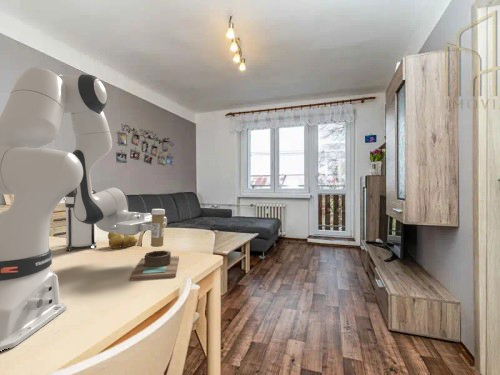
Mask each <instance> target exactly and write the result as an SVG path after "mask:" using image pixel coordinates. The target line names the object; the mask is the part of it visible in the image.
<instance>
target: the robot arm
mask: <svg viewBox="0 0 500 375" xmlns="http://www.w3.org/2000/svg"><path fill="white" fill-rule="evenodd" d="M107 103H108V93H107V89H106V87H105V85H104V83H103V82H102V81H101V79H99V78H98V77H97V76H95V75H91V74H85V73H82V74H59V75H58V74H56V73H55V72H53V71H52V70H50V69H47V68H44V67H39V66H37V67H30V68H27V69H26V70H25V71H23V73H22V74H21V75H20V76H19V78H18V79H17V80H16V82H15V84H14V85H13V87H12V89H11V92H10V93H9V96H8V99H7V101H6V103H5V106H4V108H3V110H2V113H1V115H0V195H4V196H5V195H12V196H13V202H12V204H11V205H10V207H9V208H8V209H6V210H4V211H2V212H0V351H1V350H4V349H7V350H9V349H8V348H10V349H13V348H14V347H16V346H17V345H19V344H20V343H22V342H23V341H24V340H26V339H28V337H29V338H30V336H31V335H33V334H34V333H35V332H37V331H39V329H41V328H42V327H44V326H45V325H46V324H48V323H49V322H51V321H52V320H53V319H55V318H56V317H58V316H59V315H61V313H63V312H65V311H66V310H67V305H66V303H64V302H62V301H61V297H60V295H61V294H60V286H59V280H58V279H59V276H58V275H57V274H56V273H55V272H54V271H53V270H52V267H51V266H52V264H53V262H52V261H53V260H52V259H53V255H52V249H50V229H51V220H52V216H53V214H54V212H55V209H56V208H57V206H58V205H59V204H60V202H62V200H63V199H64V198H65V196H66V195H67V194H69V193H70V192H72V191H73V192H74V208H73V209H74V215H75V217H76V218H77V219H78V220H79V221H81V222H83V223H86V224H96V226H97V229H100V230H101V231H104V232H107V233H109V232H111V233H118V234H123V235H134V236H137V234H139V233H142V232H146V231H151V230H155V229H156V228H155V227H156V226H155V225H151V224H152V212H138V211H129V199H128V195H127V194H126V193H125V191H124V190H122V189H121V188H119V187H115V186H113V187H109V188H106V189H104V190H101V191H98V192H96V193H95V194H92V190H93V189H92V188H93V186H92V179H91V173H92V170H93V167H94V166H95V165H96V164H97V163H98V162H100V161H101V160H102V159H104V158H105V157H106V156H107V155H108V154H109V153H110V152H111V150H112V148H113V138H112V134H111V131H110V126H109V123H108V120H107V117H106V114H105V113H104V109H105V108H106V105H107ZM64 114H70V116H71V119H70V120H71V125H72V129H73V134H74V137H75V146H74V151H73V152H70V151H66V150H60V149H56V148H49V147H43V146H46V145H48V144H50V143H52V142H54V141H55V140H56V138H58V136H59V134H60V130H61V127H62V126H61V125H62V122H63V117H64ZM167 225H168V218H167V216H166V215H164V228H167ZM4 351H5V350H4ZM1 352H2V351H1Z"/></svg>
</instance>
